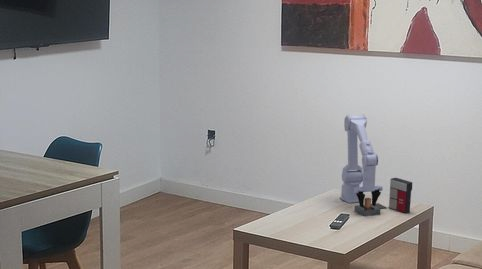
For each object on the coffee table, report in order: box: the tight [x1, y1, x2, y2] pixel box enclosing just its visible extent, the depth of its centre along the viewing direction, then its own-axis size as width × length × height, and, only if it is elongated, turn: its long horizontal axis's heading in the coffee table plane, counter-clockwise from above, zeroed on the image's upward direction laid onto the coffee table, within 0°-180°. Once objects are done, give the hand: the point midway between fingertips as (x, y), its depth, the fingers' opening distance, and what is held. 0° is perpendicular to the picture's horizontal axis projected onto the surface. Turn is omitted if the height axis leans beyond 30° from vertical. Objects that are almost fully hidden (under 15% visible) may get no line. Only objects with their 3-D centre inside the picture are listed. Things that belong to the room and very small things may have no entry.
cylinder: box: [364, 197, 372, 209], centre depth 371 cm, size 3×3×7 cm
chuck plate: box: [354, 204, 382, 217], centre depth 372 cm, size 9×9×2 cm
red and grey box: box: [388, 177, 413, 214], centre depth 375 cm, size 11×4×15 cm, turn 37°
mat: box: [371, 202, 388, 210], centre depth 381 cm, size 8×8×1 cm
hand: (367, 206), depth 371 cm, fingers open, 6 cm apart
